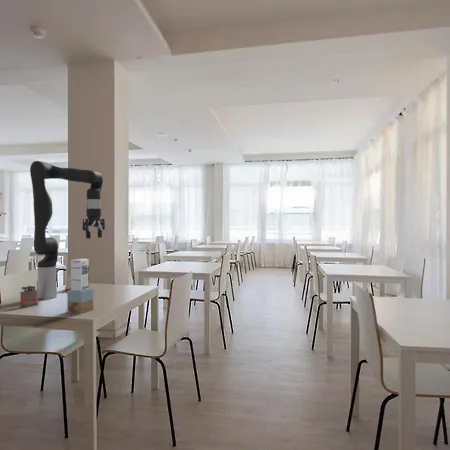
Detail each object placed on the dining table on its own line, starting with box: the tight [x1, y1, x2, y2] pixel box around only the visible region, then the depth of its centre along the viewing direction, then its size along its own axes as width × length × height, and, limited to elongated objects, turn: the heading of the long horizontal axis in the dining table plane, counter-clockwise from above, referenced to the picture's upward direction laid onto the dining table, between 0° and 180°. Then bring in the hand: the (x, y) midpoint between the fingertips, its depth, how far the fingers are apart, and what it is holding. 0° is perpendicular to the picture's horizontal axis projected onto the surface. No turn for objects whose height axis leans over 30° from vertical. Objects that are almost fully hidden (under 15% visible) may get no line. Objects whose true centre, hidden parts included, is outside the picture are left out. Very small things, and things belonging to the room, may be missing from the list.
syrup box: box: [70, 258, 90, 291], centre depth 172 cm, size 6×6×14 cm
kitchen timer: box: [64, 274, 72, 292], centre depth 227 cm, size 14×14×15 cm
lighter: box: [19, 285, 39, 308], centre depth 183 cm, size 8×3×10 cm, turn 134°
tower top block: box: [66, 288, 94, 303], centre depth 172 cm, size 8×8×5 cm
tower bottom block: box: [66, 298, 94, 314], centre depth 172 cm, size 8×8×5 cm
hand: (94, 238), depth 197 cm, fingers open, 8 cm apart
